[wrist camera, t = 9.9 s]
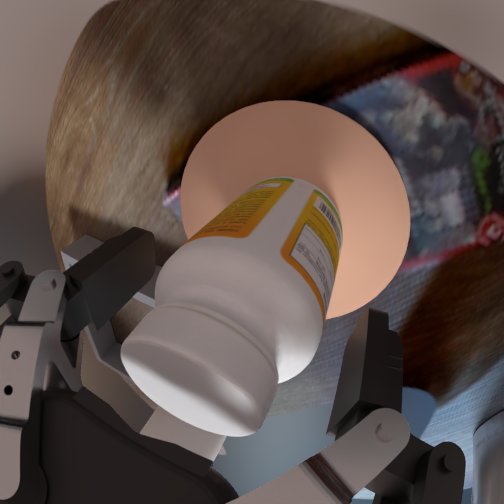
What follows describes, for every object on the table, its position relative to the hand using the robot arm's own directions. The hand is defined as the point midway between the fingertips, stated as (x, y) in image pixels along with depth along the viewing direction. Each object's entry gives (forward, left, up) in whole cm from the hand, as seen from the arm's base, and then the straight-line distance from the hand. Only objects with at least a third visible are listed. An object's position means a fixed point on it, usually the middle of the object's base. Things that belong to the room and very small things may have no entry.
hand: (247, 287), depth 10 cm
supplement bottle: (0, 0, -5) cm, 5 cm away
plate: (0, 0, -6) cm, 6 cm away
